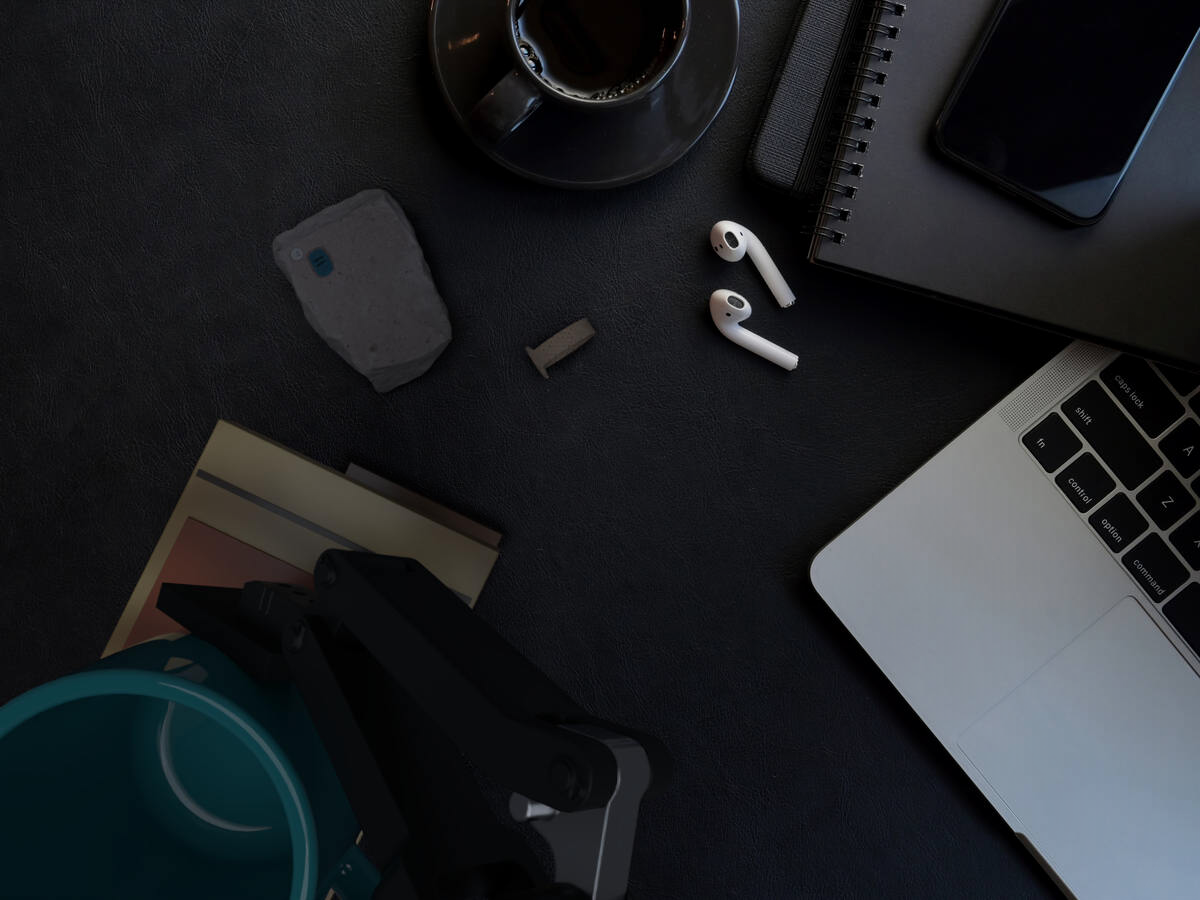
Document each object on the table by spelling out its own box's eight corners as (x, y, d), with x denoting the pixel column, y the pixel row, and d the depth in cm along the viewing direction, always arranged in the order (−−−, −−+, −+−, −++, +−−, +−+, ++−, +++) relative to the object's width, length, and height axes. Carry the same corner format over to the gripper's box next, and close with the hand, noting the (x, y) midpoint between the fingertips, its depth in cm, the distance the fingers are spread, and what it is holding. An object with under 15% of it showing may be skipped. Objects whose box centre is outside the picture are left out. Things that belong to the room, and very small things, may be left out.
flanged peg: (525, 351, 68) (523, 343, 63) (580, 315, 68) (582, 305, 63) (545, 382, 68) (545, 376, 63) (600, 346, 68) (603, 338, 63)
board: (299, 964, 41) (288, 986, 39) (22, 839, 40) (-1, 856, 38) (501, 549, 41) (499, 553, 39) (231, 419, 40) (217, 418, 39)
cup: (330, 974, 32) (213, 1245, 21) (75, 736, 32) (-182, 883, 21) (512, 781, 33) (492, 946, 21) (262, 545, 32) (110, 587, 21)
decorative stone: (275, 249, 67) (248, 231, 61) (391, 188, 68) (376, 163, 62) (365, 411, 68) (347, 407, 62) (480, 348, 68) (473, 339, 62)
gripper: (771, 1913, 15) (190, 1072, 31) (1081, 631, 16) (358, 429, 31) (408, 2610, 10) (-83, 1160, 25) (901, 606, 10) (127, 374, 25)
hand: (162, 755), depth 28 cm, fingers closed on cup, 9 cm apart
